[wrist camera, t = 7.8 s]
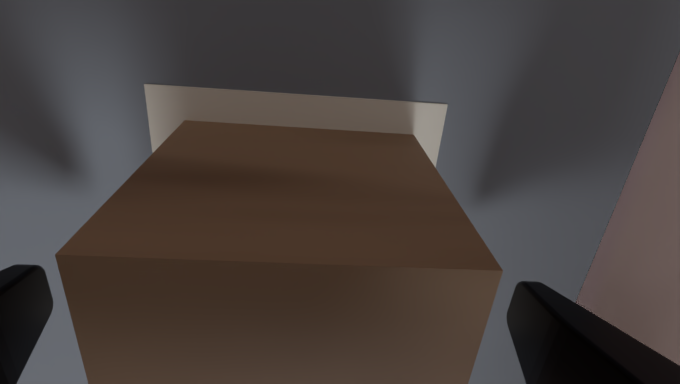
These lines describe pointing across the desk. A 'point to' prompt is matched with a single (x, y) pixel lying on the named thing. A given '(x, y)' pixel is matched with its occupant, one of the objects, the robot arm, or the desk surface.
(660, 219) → the desk surface
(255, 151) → the walnut block
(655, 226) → the desk surface
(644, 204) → the desk surface
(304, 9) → the blueprint board
